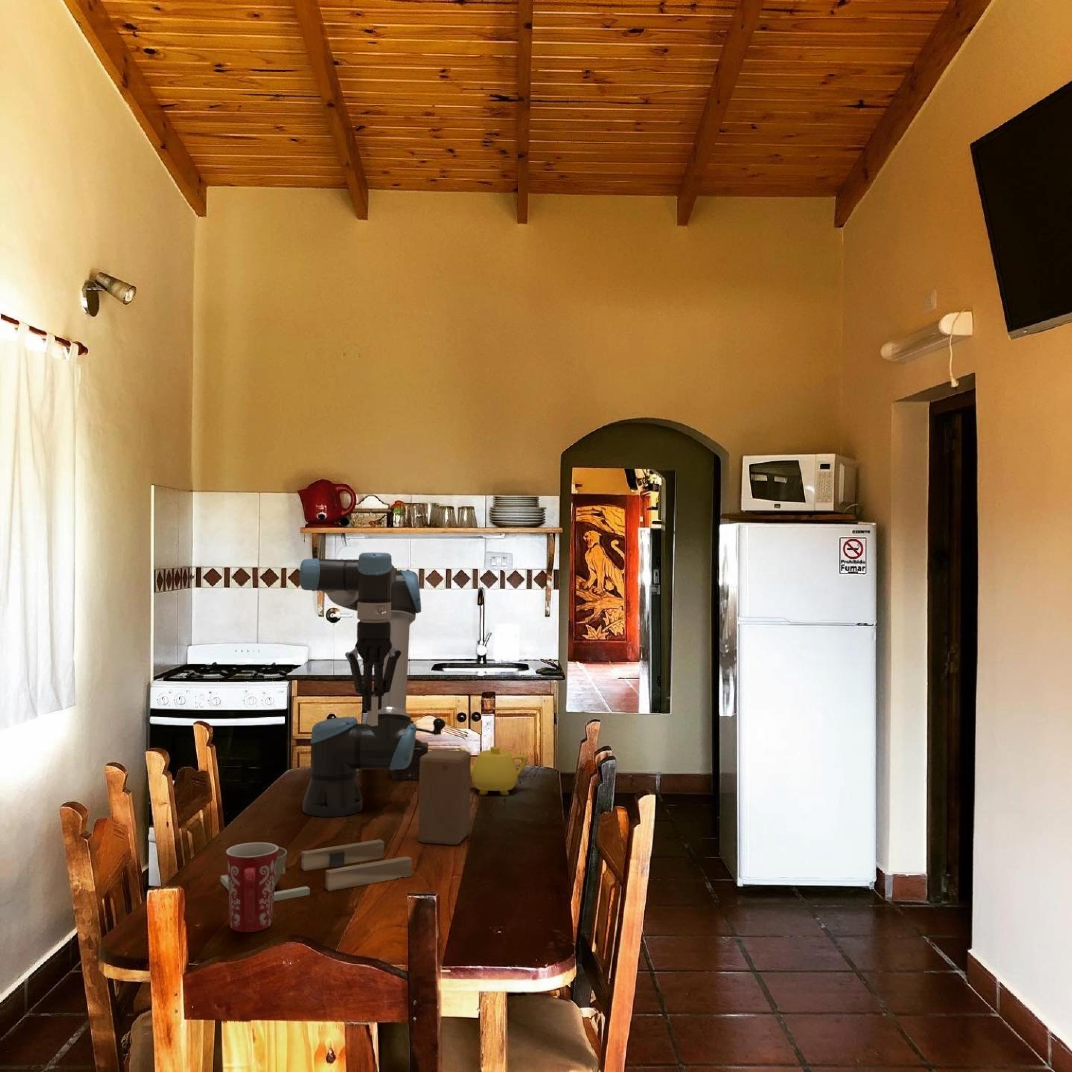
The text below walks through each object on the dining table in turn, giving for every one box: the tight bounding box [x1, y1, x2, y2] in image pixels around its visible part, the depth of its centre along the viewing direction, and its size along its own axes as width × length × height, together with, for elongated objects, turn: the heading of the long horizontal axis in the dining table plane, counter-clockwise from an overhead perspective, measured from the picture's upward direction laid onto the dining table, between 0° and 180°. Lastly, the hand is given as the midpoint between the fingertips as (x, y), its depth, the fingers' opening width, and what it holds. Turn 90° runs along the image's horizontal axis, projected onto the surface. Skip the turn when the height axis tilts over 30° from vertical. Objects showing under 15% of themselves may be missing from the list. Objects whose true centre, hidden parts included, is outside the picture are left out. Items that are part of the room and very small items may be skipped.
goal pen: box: [220, 866, 311, 902], centre depth 194 cm, size 16×13×1 cm
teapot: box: [457, 746, 529, 796], centre depth 276 cm, size 13×20×12 cm
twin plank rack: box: [300, 839, 413, 892], centre depth 204 cm, size 16×18×4 cm
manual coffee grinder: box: [391, 717, 446, 781], centre depth 292 cm, size 16×11×18 cm
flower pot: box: [275, 846, 288, 886], centre depth 193 cm, size 10×10×7 cm
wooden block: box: [417, 748, 472, 846], centre depth 229 cm, size 10×10×20 cm
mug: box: [225, 841, 279, 933], centre depth 173 cm, size 13×9×14 cm
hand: (372, 724), depth 221 cm, fingers closed
